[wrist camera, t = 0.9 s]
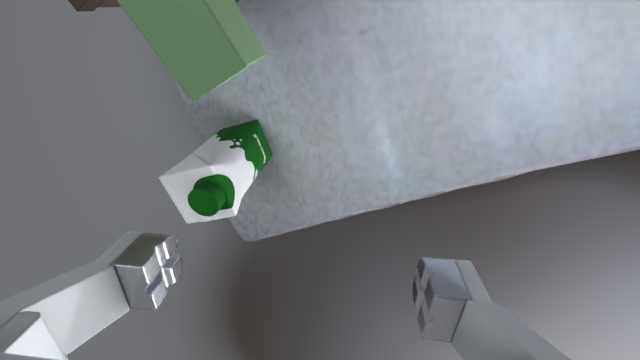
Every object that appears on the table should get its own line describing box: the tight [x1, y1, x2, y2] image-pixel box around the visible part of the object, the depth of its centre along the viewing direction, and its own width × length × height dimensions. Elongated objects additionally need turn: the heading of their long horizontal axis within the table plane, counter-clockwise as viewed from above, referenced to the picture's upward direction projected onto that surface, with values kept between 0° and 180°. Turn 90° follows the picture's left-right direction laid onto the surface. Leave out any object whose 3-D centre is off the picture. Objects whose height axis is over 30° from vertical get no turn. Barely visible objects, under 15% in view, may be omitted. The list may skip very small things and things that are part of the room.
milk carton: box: [159, 120, 272, 223], centre depth 45 cm, size 9×9×20 cm
